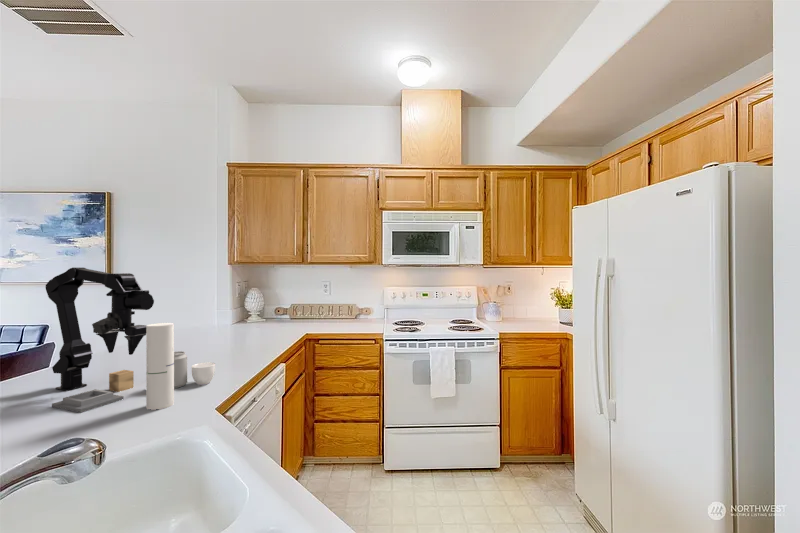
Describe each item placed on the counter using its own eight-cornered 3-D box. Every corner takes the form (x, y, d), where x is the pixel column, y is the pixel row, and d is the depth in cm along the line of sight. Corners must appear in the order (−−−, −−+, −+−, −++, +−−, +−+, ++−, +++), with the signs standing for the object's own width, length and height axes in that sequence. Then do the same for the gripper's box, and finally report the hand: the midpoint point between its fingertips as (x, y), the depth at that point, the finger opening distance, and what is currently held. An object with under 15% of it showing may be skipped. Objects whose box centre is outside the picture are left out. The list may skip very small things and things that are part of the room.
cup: (199, 387, 132) (199, 368, 132) (184, 383, 137) (184, 365, 138) (219, 382, 139) (219, 364, 139) (204, 378, 144) (204, 360, 144)
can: (176, 389, 130) (176, 355, 130) (157, 388, 132) (157, 354, 132) (192, 383, 138) (192, 350, 138) (174, 382, 139) (174, 350, 139)
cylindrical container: (179, 403, 117) (179, 323, 117) (158, 411, 110) (157, 326, 110) (162, 400, 119) (162, 322, 119) (140, 408, 112) (140, 325, 113)
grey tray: (52, 406, 114) (52, 398, 114) (95, 394, 126) (95, 387, 126) (80, 412, 109) (80, 404, 110) (123, 399, 121) (123, 391, 121)
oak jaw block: (109, 390, 130) (109, 373, 130) (124, 386, 135) (124, 369, 135) (118, 392, 128) (118, 374, 128) (133, 387, 133) (133, 371, 133)
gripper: (76, 310, 125) (75, 356, 125) (119, 312, 120) (118, 361, 120) (110, 307, 136) (109, 349, 136) (150, 309, 131) (149, 353, 131)
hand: (120, 353), depth 130 cm, fingers open, 9 cm apart
